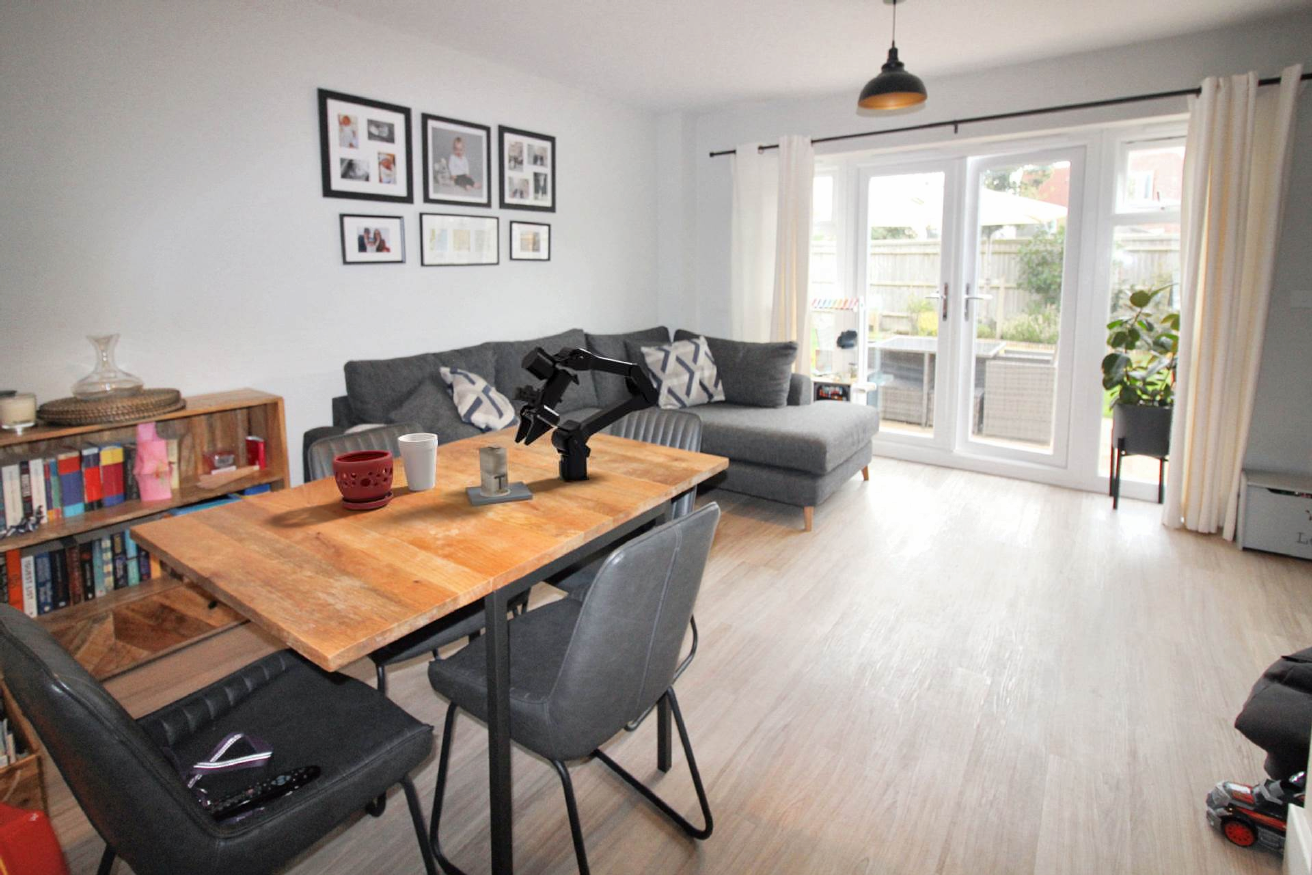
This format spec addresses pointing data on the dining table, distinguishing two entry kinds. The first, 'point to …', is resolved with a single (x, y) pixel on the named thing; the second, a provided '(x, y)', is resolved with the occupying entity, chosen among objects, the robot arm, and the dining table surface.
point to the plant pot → (364, 478)
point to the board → (515, 493)
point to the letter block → (493, 470)
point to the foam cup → (419, 459)
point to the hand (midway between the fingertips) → (520, 443)
